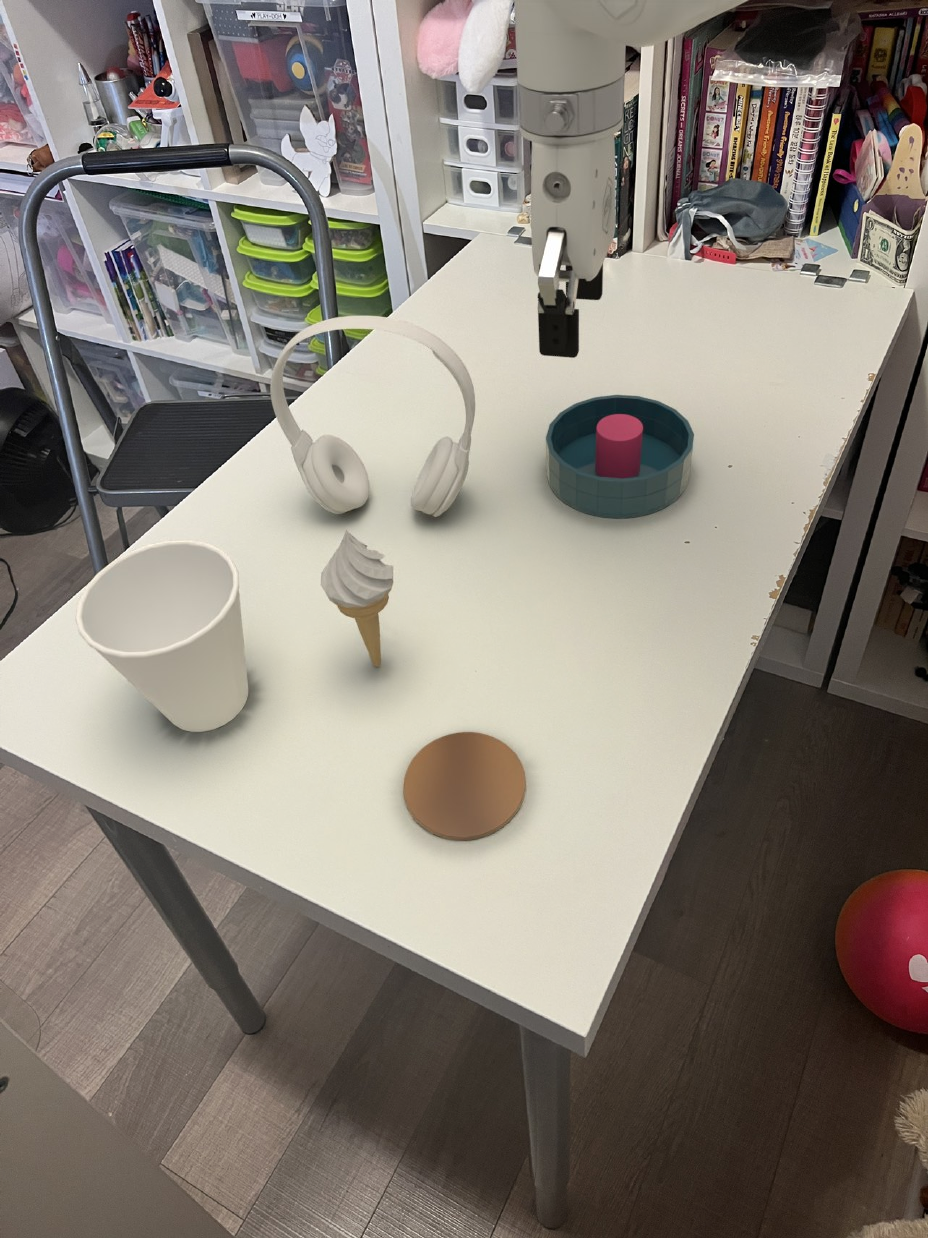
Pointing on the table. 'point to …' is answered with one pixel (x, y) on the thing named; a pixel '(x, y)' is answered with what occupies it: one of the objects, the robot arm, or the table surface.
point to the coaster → (464, 786)
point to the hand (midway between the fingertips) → (572, 325)
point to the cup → (172, 629)
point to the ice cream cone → (359, 588)
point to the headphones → (336, 465)
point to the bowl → (619, 497)
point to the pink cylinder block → (618, 446)
